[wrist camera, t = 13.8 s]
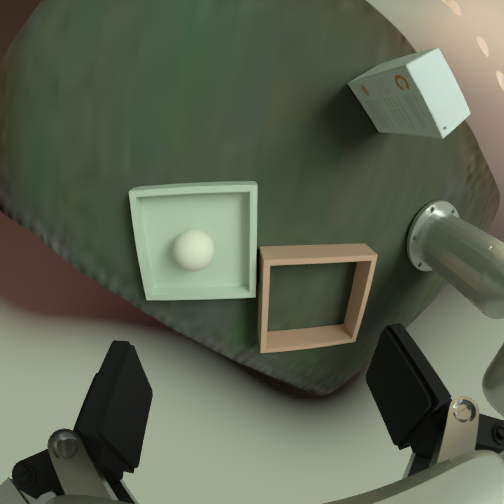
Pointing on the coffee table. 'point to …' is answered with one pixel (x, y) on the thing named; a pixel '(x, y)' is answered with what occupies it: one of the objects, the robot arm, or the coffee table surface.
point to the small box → (412, 95)
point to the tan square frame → (314, 255)
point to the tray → (204, 219)
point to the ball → (193, 250)
